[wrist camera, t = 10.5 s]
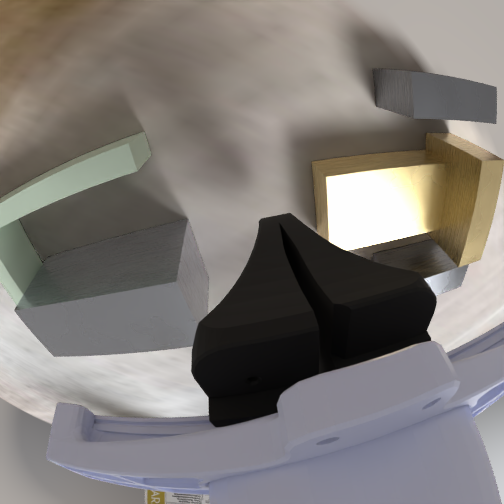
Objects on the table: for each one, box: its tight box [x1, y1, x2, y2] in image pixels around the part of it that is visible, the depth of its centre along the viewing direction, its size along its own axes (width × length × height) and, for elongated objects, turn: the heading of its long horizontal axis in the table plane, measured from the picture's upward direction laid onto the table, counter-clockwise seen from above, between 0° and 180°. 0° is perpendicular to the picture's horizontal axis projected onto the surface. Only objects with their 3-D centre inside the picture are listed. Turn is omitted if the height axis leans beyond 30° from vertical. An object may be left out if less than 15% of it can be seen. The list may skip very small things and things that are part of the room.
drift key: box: [312, 133, 504, 268], centre depth 12 cm, size 6×9×4 cm, turn 100°
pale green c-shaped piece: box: [0, 131, 151, 305], centre depth 13 cm, size 10×12×3 cm
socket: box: [373, 69, 497, 296], centre depth 12 cm, size 13×6×3 cm, turn 10°
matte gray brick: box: [14, 219, 209, 357], centre depth 13 cm, size 4×10×5 cm, turn 100°
